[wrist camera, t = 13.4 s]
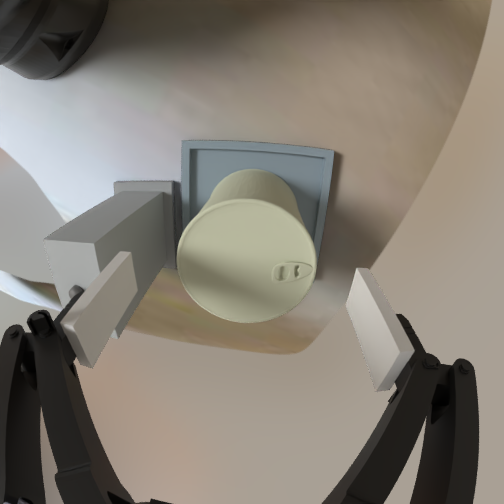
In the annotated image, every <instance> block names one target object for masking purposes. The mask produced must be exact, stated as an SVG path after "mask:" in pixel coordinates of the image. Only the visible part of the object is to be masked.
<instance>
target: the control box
mask: <svg viewBox="0 0 504 504" xmlns="http://www.w3.org/2000/svg"><path fill="white" fill-rule="evenodd" d="M43 242H44V246H45V250H46V254H47V258H48V262H49V266H50V269H51V273H52V276H53V279H54V283H55V286H56V289H57V292H58V295H59V298H60V301H61V304H62V307H63V309H64V308H65V306H66V305H67V304H68V303H69V301H70V300H71V299H72V298H73V297H74V296H75V295H76V294H78V293H79V292H81V291H84V292H85V291H86V289H87V288H88V287H89V286H90V285H91V283H92V282H93V281H94V280H95V279H96V278H97V276H98V275H99V274H100V273H101V272H102V271H103V270H104V268H105V267H106V266H107V265H108V264H109V263H110V262H111V261H112V259H113V258H114V257H115V256H116V255H117V254H118V253H119V252H120V251H124V252H131V255H132V261H133V267H134V273H135V278H136V284H137V289H138V291H137V293H136V294H135V296H134V298H133V299H132V301H131V302H130V304H129V306H128V307H127V309H126V311H125V312H124V314H123V316H122V317H121V319H120V321H119V322H118V324H117V326H116V328H115V329H114V331H113V333H112V334H111V336H110V337H113V338H117V339H118V338H119V337H120V335H121V333H122V331H123V330H124V328H125V326H126V325H127V323H128V321H129V320H130V318H131V316H132V315H133V313H134V311H135V310H136V308H137V306H138V305H139V303H140V301H141V300H142V298H143V297H144V295H145V293H146V292H147V290H148V289H149V287H150V285H151V284H152V282H153V281H154V279H155V278H156V276H157V275H158V273H159V272H160V270H161V268H162V267H164V268H175V269H176V267H177V249H176V232H175V208H174V181H116V182H114V196H112V197H110V198H109V199H107V200H105V201H103V202H102V203H100V204H98V205H96V206H95V207H93V208H91V209H90V210H88V211H86V212H85V213H83V214H81V215H80V216H78V217H76V218H75V219H73V220H72V221H70V222H68V223H67V224H65V225H64V226H63V227H61V228H59V229H58V230H56V231H55V232H53V233H52V234H50V235H49V236H47V237H46V238H44V239H43Z"/></svg>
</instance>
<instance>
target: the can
mask: <svg viewBox="0 0 504 504" xmlns="http://www.w3.org/2000/svg"><path fill="white" fill-rule="evenodd" d="M316 268H317V256H316V250H315V246H314V243H313V241H312V238H311V236H310V234H309V233H308V231H307V229H306V227H305V225H304V223H303V220H302V218H301V215H300V213H299V210H298V206H297V201H296V198H295V196H294V194H293V192H292V190H291V189H290V187H289V186H288V185H287V184H286V183H285V182H284V181H283V180H282V179H281V178H280V177H278V176H276V175H275V174H273V173H270V172H268V171H264V170H260V169H245V170H240V171H237V172H234V173H232V174H230V175H228V176H227V177H225V178H224V179H223V180H222V181H221V182H219V184H218V185H217V186H216V187H215V189H214V190H213V192H212V194H211V196H210V199H209V200H208V201H207V203H206V204H205V205H204V207H203V208H202V209H201V211H200V212H199V213H198V214H197V215H196V216H195V217H194V218H193V219H192V220H191V222H190V223H189V224H188V225H187V227H186V228H185V230H184V232H183V234H182V236H181V238H180V241H179V245H178V249H177V269H178V273H179V277H180V279H181V282H182V284H183V286H184V288H185V289H186V291H187V292H188V294H189V295H190V296H191V297H192V299H193V300H194V301H195V302H196V303H197V304H199V305H200V306H201V307H202V308H203V309H205V310H207V311H208V312H210V313H212V314H213V315H215V316H218V317H220V318H223V319H226V320H230V321H234V322H241V323H257V322H264V321H268V320H272V319H274V318H277V317H280V316H282V315H284V314H286V313H287V312H289V311H290V310H292V309H293V308H294V307H296V306H297V305H298V304H299V303H300V302H301V301H302V300H303V299H304V297H305V296H306V295H307V293H308V292H309V290H310V288H311V286H312V284H313V281H314V278H315V274H316Z"/></svg>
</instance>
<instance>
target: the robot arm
mask: <svg viewBox="0 0 504 504" xmlns="http://www.w3.org/2000/svg"><path fill="white" fill-rule="evenodd" d="M107 2H108V0H0V65H3V66H5V67H7V68H9V69H10V70H12V71H14V72H16V73H18V74H19V75H21V76H23V77H25V78H27V79H34V80H46V79H50V78H53V77H55V76H57V75H59V74H61V73H62V72H64V71H65V70H67V69H68V68H69V67H70V66H71V65H72V64H74V63H75V62H76V61H77V60H78V59H79V57H80V56H81V55H82V54H83V53H84V52H85V50H86V49H87V48H88V47H89V45H90V44H91V42H92V41H93V39H94V38H95V36H96V34H97V32H98V31H99V29H100V27H101V24H102V22H103V20H104V17H105V14H106V10H107ZM137 291H138V289H137V284H136V278H135V273H134V267H133V261H132V255H131V252H124V251H120V252H119V253H118V254H117V255H116V256H115V257H114V258H113V259H112V261H111V262H110V263H109V264H108V265H107V266H106V267H105V268H104V270H103V271H102V272H101V273H100V274H99V275H98V276H97V278H96V279H95V280H94V281H93V282H92V283H91V285H90V286H89V287H88V288H87V289H86V291H85V292H84V291H81V292H79V293H78V294H76V295H75V296H74V297H73V298H72V299H71V300H70V301H69V303H68V304H67V305H66V306H65V308H64V309H63V310H62V311H61V312H60V314H59V315H58V316H57V318H56V319H55V320H54V321H53V320H52V318H51V316H50V313H49V312H48V311H47V310H38V311H36V312H34V313H32V314H31V315H30V316H29V318H28V320H27V324H28V326H29V328H30V330H31V332H32V333H25V331H24V329H23V327H22V326H21V325H17V324H16V325H12V326H11V327H9V328H8V329H7V330H6V331H5V333H4V336H3V339H2V342H1V345H0V504H46V500H45V490H44V483H43V475H42V463H41V448H40V447H41V446H40V412H41V407H42V412H43V417H44V422H45V426H46V430H47V434H48V438H49V442H50V446H51V449H52V452H53V456H54V459H55V462H56V465H57V469H58V473H56V474H55V481H56V485H57V487H58V490H59V493H60V495H61V498H62V500H63V502H64V504H171V503H167V502H163V501H158V500H155V499H151V500H150V502H140V503H135V502H134V500H133V499H132V498H131V496H130V494H129V493H128V492H127V490H126V489H125V488H124V487H123V486H122V484H121V483H120V481H119V479H118V477H117V476H116V474H115V472H114V470H113V468H112V466H111V464H110V462H109V460H108V457H107V455H106V453H105V451H104V448H103V446H102V444H101V442H100V439H99V437H98V434H97V432H96V429H95V427H94V424H93V422H92V419H91V416H90V413H89V410H88V407H87V404H86V401H85V398H84V395H83V392H82V389H81V385H80V381H79V378H78V374H77V370H76V367H75V365H74V363H73V361H74V360H75V358H76V357H77V359H78V361H79V363H80V364H81V365H83V366H86V367H90V368H93V367H94V365H95V363H96V361H97V360H98V358H99V356H100V354H101V352H102V350H103V349H104V347H105V345H106V343H107V341H108V340H109V338H110V336H111V334H112V333H113V331H114V329H115V328H116V326H117V324H118V322H119V321H120V319H121V317H122V316H123V314H124V312H125V311H126V309H127V307H128V306H129V304H130V302H131V301H132V299H133V298H134V296H135V294H136V293H137ZM346 308H347V310H348V313H349V316H350V318H351V321H352V324H353V327H354V329H355V332H356V335H357V338H358V340H359V343H360V346H361V349H362V352H363V355H364V358H365V361H366V364H367V367H368V370H369V373H370V375H371V378H372V382H373V385H374V388H375V391H376V392H378V391H386V390H390V388H391V387H392V385H393V384H394V383H395V384H396V387H397V389H396V391H395V392H394V394H393V395H392V396H391V398H390V399H389V400H388V402H389V404H388V406H387V408H386V410H385V412H384V413H383V415H382V417H381V419H380V421H379V422H378V424H377V426H376V428H375V430H374V431H373V433H372V434H371V436H370V438H369V439H368V441H367V443H366V444H365V446H364V447H363V449H362V450H361V452H360V453H359V455H358V456H357V458H356V459H355V461H354V462H353V464H352V465H351V467H350V468H349V469H348V471H347V472H346V474H345V475H344V476H343V478H342V479H341V480H340V482H339V483H338V484H337V486H336V487H335V488H334V489H333V491H332V492H331V493H330V494H329V495H328V497H327V498H326V499H325V500H324V501H323V503H322V504H384V502H385V500H386V499H387V497H388V495H389V494H390V492H391V490H392V489H393V487H394V485H395V483H396V482H397V480H398V478H399V476H400V474H401V472H402V470H403V468H404V466H405V464H406V462H407V460H408V458H409V456H410V454H411V452H412V450H413V447H414V445H415V443H416V440H417V438H418V436H419V433H420V431H421V429H422V426H423V423H424V421H425V418H426V426H425V434H424V441H423V447H422V453H421V459H420V464H419V469H418V473H417V478H416V482H415V486H414V490H413V494H412V497H411V501H410V504H473V499H474V493H475V486H476V479H477V478H476V477H477V469H478V454H479V413H478V412H479V411H478V396H477V386H476V377H475V370H474V367H473V366H472V364H471V363H470V362H469V361H467V360H465V359H457V360H456V361H455V362H454V364H453V365H445V364H441V363H440V361H439V360H438V359H437V357H435V356H434V355H432V354H429V353H426V352H425V350H424V348H423V346H422V344H421V342H420V341H419V339H418V337H417V335H416V334H415V331H414V330H413V329H412V326H411V325H410V323H409V321H408V320H407V319H406V318H405V317H404V316H403V315H402V314H395V313H394V311H393V309H392V307H391V305H390V304H389V302H388V300H387V299H386V297H385V295H384V293H383V292H382V290H381V288H380V287H379V285H378V283H377V282H376V280H375V278H374V277H373V275H372V273H371V272H370V270H369V269H368V268H356V272H355V275H354V279H353V283H352V286H351V289H350V293H349V296H348V299H347V303H346ZM426 416H427V417H426Z"/></svg>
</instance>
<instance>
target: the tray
mask: <svg viewBox="0 0 504 504" xmlns="http://www.w3.org/2000/svg"><path fill="white" fill-rule="evenodd" d="M333 158H334V151H333V150H329V149H322V148H315V147H306V146H298V145H288V144H277V143H265V142H249V141H227V140H183V141H182V158H181V188H182V228H183V232H184V230H185V228H186V227H187V225H188V224H189V223H190V222H191V220H192V219H193V218H194V217H195V216H196V215H197V214H198V213H199V212H200V211H201V209H202V208H203V207H204V205H205V204H206V203H207V201H208V200H209V199H210V196H211V194H212V192H213V190H214V189H215V187H216V186H217V185H218V184H219V182H221V181H222V180H223V179H224V178H225V177H227V176H228V175H230V174H232V173H234V172H237V171H240V170H245V169H260V170H264V171H268V172H270V173H273V174H275V175H276V176H278V177H280V178H281V179H282V180H283V181H284V182H285V183H286V184H287V185H288V186H289V187H290V189H291V190H292V192H293V194H294V196H295V198H296V201H297V206H298V210H299V213H300V215H301V218H302V220H303V223H304V225H305V227H306V229H307V231H308V233H309V234H310V236H311V238H312V241H313V243H314V246H315V250H316V256H317V263H318V258H319V253H320V247H321V241H322V236H323V230H324V223H325V217H326V211H327V204H328V197H329V190H330V183H331V175H332V167H333ZM316 269H317V268H316ZM314 279H315V278H314ZM313 283H314V281H313Z"/></svg>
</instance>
